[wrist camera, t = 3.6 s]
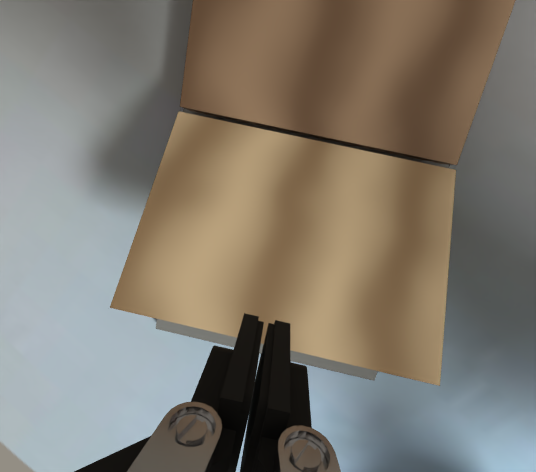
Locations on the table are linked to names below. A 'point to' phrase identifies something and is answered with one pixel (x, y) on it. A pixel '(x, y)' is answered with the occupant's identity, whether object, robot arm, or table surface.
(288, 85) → the floor section
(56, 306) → the table surface
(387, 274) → the oak plank
